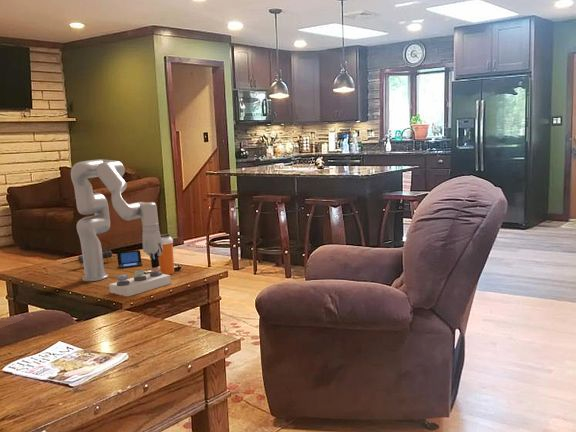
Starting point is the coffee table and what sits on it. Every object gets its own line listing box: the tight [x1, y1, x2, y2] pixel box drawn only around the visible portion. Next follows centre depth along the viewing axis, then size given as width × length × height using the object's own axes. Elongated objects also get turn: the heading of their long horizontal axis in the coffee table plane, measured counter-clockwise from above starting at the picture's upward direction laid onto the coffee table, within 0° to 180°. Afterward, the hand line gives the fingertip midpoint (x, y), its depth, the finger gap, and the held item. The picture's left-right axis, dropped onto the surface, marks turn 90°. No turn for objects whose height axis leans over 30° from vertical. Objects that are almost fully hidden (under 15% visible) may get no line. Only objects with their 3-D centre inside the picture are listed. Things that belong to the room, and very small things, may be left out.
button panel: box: [108, 270, 172, 297], centre depth 281 cm, size 14×24×5 cm, turn 138°
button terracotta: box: [150, 266, 160, 272], centre depth 287 cm, size 4×4×2 cm
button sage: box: [134, 269, 145, 277], centre depth 280 cm, size 4×4×2 cm
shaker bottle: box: [158, 233, 175, 276], centre depth 305 cm, size 9×9×20 cm
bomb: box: [61, 246, 116, 268], centre depth 339 cm, size 11×10×30 cm
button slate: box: [117, 274, 129, 282], centre depth 274 cm, size 4×4×2 cm
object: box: [116, 249, 143, 270], centre depth 332 cm, size 12×11×7 cm
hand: (155, 266), depth 287 cm, fingers closed
